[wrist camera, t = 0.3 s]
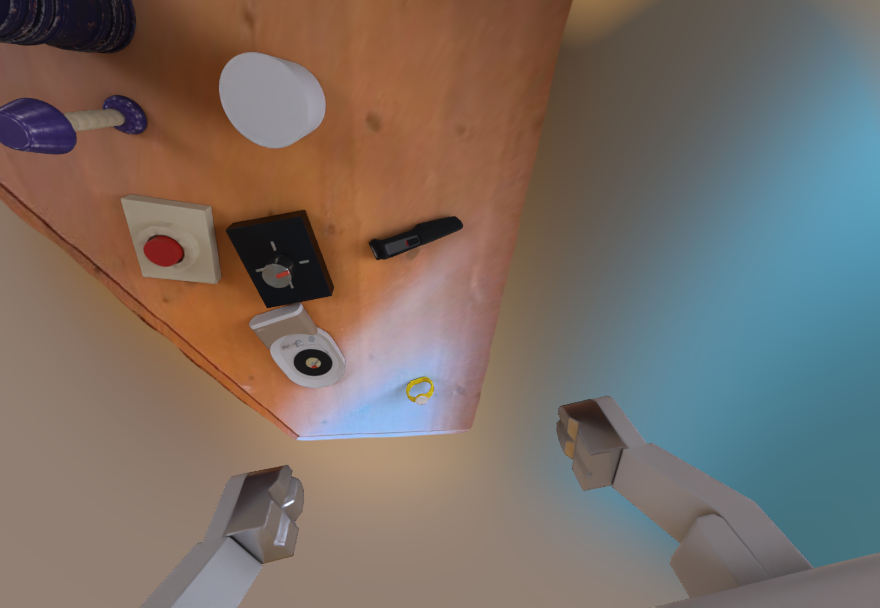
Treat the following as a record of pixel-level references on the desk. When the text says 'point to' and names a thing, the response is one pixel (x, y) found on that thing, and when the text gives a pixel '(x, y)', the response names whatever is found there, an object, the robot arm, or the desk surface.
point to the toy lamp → (63, 123)
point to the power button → (163, 251)
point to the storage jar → (69, 24)
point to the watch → (420, 398)
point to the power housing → (174, 237)
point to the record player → (300, 346)
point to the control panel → (286, 238)
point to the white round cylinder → (271, 99)
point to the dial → (279, 271)
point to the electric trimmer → (415, 237)
